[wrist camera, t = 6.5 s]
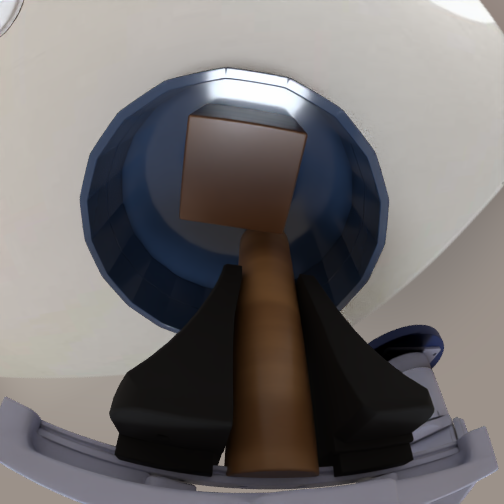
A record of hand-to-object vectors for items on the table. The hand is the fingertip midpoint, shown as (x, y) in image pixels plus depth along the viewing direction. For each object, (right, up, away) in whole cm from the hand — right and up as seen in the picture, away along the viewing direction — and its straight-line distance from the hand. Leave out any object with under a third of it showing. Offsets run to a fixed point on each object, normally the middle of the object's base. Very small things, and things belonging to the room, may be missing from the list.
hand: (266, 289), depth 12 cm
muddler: (0, +2, +3) cm, 3 cm away
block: (-1, +6, +1) cm, 6 cm away
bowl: (-1, +4, +3) cm, 6 cm away
